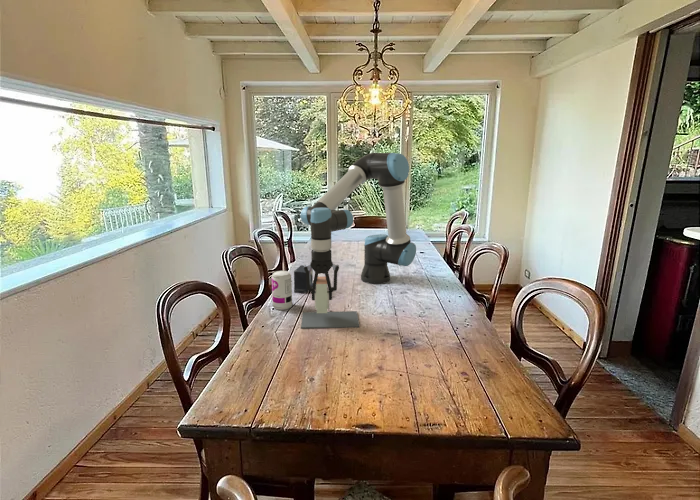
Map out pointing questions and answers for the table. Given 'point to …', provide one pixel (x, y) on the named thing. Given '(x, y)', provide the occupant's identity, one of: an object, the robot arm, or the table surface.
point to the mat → (330, 320)
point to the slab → (321, 294)
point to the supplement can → (281, 290)
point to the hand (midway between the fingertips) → (322, 307)
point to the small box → (302, 279)
